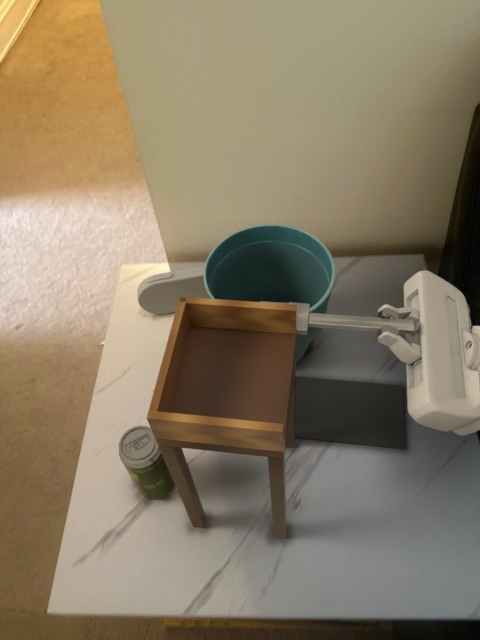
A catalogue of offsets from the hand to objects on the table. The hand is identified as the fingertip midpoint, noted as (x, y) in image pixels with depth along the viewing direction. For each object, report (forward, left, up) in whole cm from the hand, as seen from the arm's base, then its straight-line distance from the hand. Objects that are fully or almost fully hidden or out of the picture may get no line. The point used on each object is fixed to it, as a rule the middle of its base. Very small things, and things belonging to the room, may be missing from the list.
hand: (380, 322), depth 64 cm
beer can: (+4, +30, -22) cm, 38 cm away
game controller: (+30, +12, -22) cm, 39 cm away
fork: (+3, +4, -1) cm, 5 cm away
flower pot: (+17, +5, -22) cm, 28 cm away
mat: (+3, +4, -21) cm, 22 cm away
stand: (-1, +19, -21) cm, 29 cm away
